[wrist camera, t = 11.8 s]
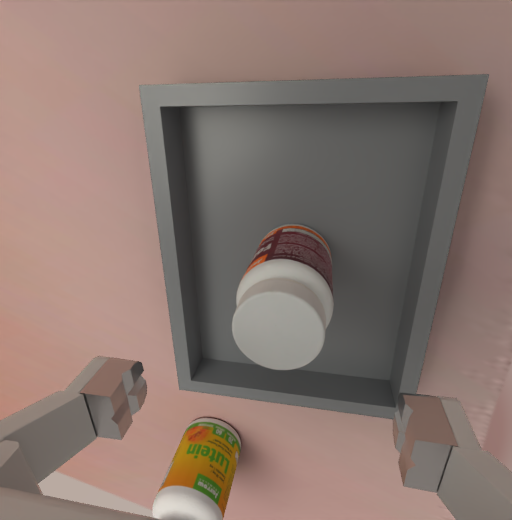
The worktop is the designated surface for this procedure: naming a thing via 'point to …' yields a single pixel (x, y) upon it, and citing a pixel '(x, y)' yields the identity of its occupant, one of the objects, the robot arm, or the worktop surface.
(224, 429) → the supplement bottle
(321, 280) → the pill bottle
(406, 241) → the tray
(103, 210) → the worktop surface
